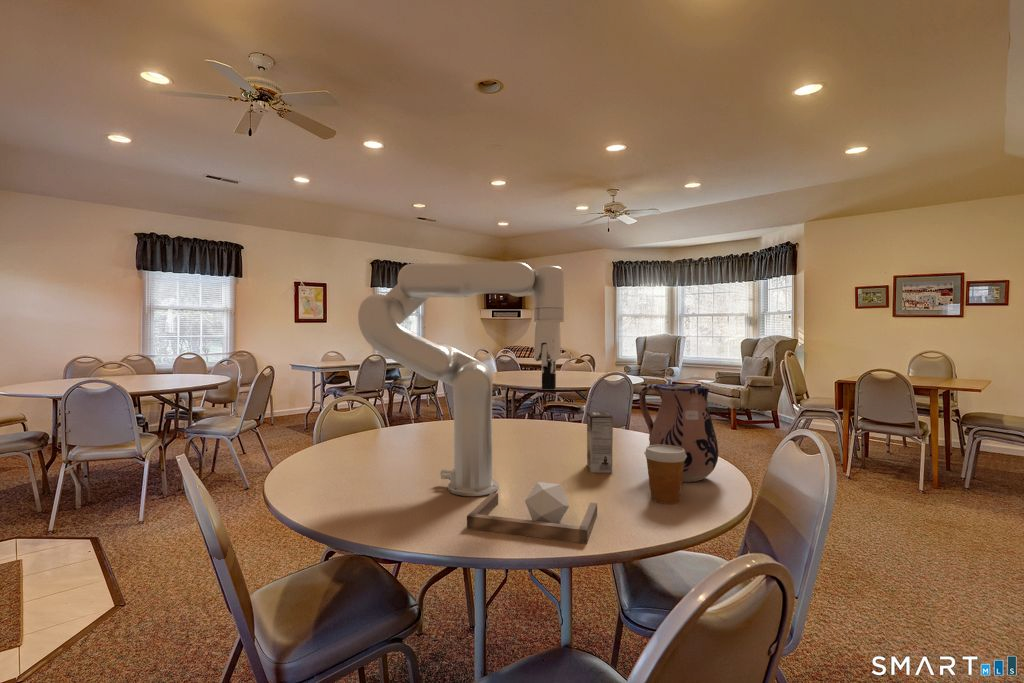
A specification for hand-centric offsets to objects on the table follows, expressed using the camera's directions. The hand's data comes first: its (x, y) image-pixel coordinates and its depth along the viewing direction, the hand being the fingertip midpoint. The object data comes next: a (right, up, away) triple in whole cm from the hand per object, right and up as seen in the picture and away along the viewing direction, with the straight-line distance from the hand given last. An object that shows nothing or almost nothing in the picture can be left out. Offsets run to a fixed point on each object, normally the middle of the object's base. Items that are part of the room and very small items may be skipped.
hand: (548, 388), depth 122 cm
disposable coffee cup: (+27, -25, -8) cm, 38 cm away
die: (-2, -26, -21) cm, 34 cm away
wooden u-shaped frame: (-5, -25, -21) cm, 33 cm away
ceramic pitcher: (+35, -25, +10) cm, 45 cm away
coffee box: (+16, -25, +18) cm, 35 cm away
